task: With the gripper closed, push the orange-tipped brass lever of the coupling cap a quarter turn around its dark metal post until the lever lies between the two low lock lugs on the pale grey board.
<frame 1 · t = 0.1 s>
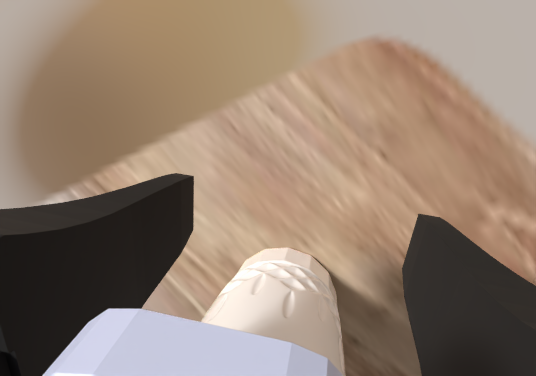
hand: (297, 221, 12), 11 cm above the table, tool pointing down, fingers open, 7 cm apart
white cup: (284, 292, 25), on the table
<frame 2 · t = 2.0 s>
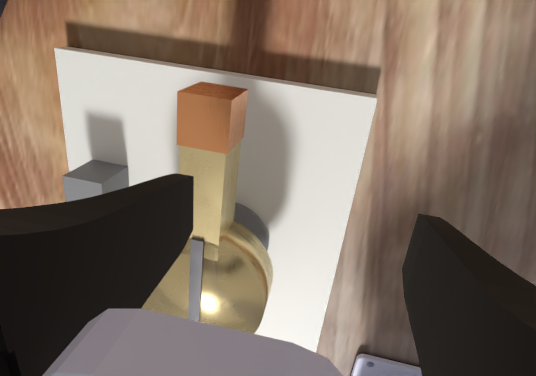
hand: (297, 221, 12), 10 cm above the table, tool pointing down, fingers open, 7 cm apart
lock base: (206, 209, 25), on the table
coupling: (206, 229, 18), point 6 cm above the table, hinge at -90.0°
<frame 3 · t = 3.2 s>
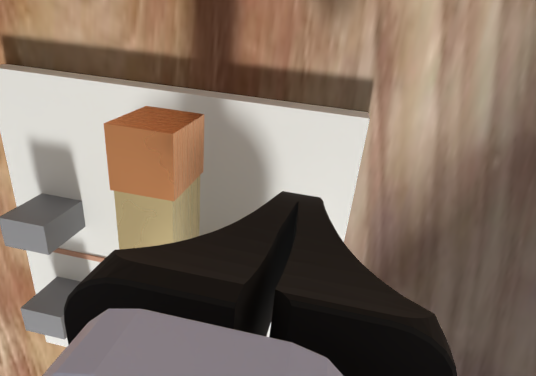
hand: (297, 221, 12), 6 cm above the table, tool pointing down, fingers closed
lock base: (176, 246, 21), on the table
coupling: (163, 285, 15), point 6 cm above the table, hinge at -90.0°
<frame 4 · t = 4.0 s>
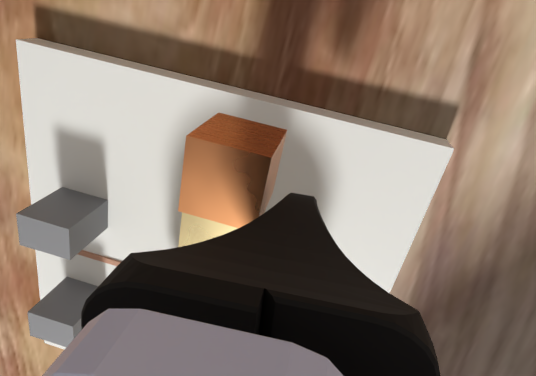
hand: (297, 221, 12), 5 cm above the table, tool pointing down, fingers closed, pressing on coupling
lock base: (205, 256, 20), on the table
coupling: (209, 313, 13), point 6 cm above the table, hinge at -89.9°, touching gripper
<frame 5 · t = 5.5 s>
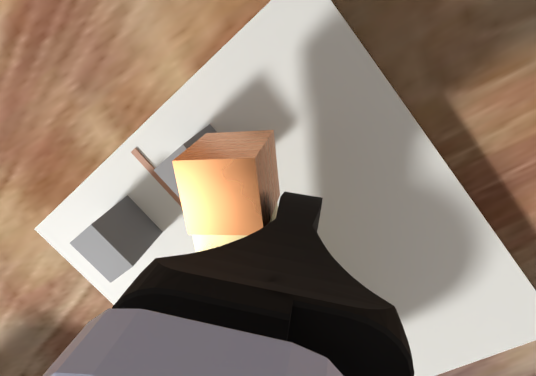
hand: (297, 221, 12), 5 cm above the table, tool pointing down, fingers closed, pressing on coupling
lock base: (277, 260, 19), on the table
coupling: (254, 329, 13), point 6 cm above the table, hinge at -34.2°, touching gripper
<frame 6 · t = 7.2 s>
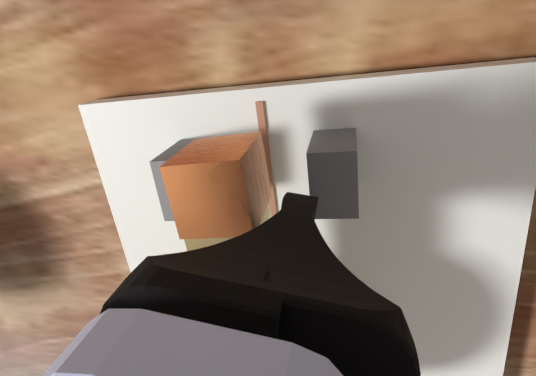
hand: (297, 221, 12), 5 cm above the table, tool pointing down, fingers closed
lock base: (305, 266, 19), on the table
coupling: (254, 331, 13), point 6 cm above the table, hinge at 2.2°, touching gripper
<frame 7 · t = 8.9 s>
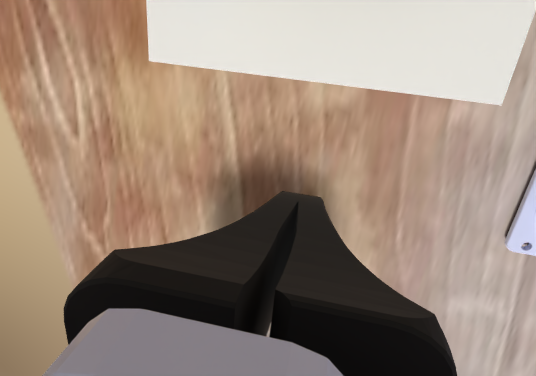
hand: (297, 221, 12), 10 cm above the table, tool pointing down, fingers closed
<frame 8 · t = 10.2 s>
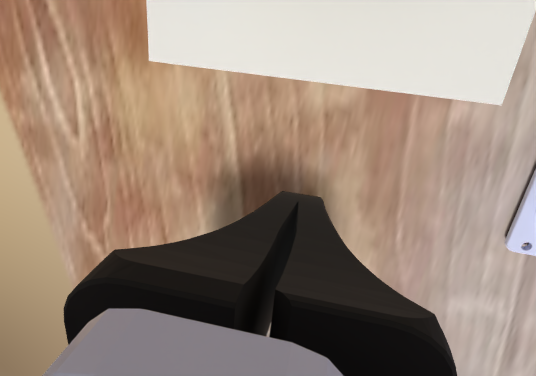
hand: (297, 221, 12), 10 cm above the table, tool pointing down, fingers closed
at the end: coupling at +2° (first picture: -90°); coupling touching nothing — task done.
